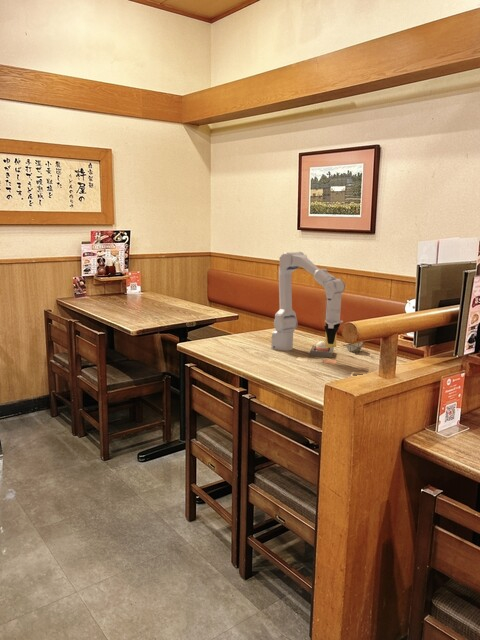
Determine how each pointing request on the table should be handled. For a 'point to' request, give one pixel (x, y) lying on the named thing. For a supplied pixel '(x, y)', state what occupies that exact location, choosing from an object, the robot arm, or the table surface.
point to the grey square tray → (321, 352)
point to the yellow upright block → (327, 341)
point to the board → (316, 360)
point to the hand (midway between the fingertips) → (331, 342)
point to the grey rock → (354, 347)
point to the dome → (321, 346)
